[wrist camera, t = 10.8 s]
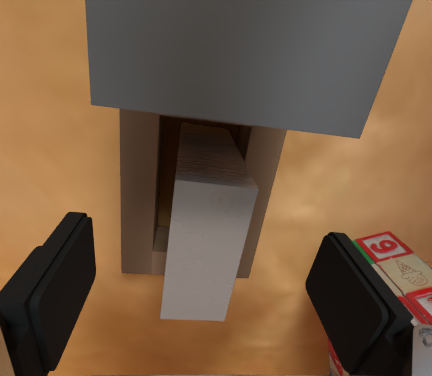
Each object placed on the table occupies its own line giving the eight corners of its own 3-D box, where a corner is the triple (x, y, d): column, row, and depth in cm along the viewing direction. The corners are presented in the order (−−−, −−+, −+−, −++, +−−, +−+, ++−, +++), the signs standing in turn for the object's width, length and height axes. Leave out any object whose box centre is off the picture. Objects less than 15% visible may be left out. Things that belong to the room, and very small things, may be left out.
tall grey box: (227, 128, 18) (258, 189, 10) (210, 217, 21) (224, 321, 13) (181, 122, 17) (175, 179, 9) (171, 214, 20) (160, 319, 12)
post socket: (308, -39, 14) (581, -255, 4) (241, 251, 22) (282, 405, 13) (132, -78, 13) (-56, -513, 3) (130, 245, 21) (78, 410, 11)
